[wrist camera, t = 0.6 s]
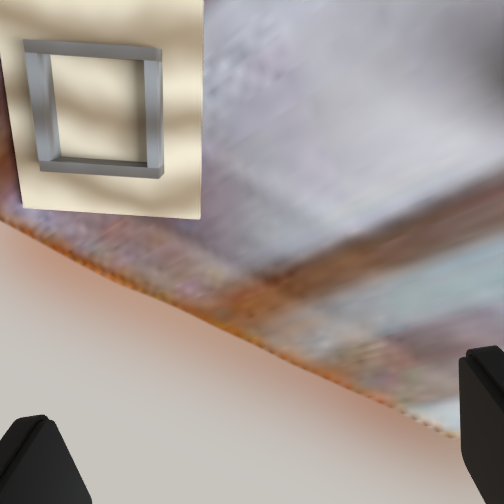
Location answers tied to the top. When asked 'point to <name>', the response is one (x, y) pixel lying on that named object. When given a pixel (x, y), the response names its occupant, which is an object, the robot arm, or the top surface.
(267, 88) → the top surface
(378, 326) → the top surface
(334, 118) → the top surface
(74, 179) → the holder board
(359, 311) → the top surface
